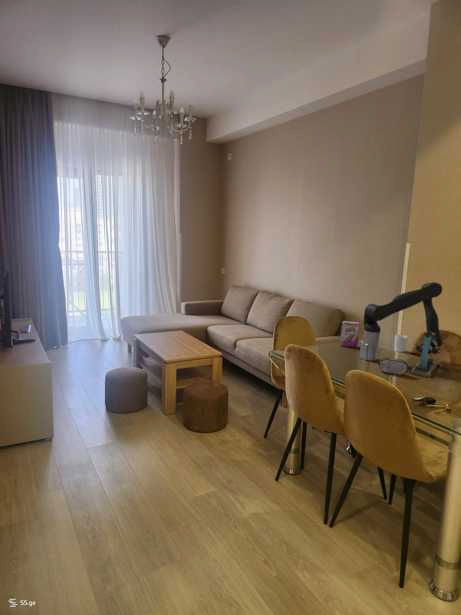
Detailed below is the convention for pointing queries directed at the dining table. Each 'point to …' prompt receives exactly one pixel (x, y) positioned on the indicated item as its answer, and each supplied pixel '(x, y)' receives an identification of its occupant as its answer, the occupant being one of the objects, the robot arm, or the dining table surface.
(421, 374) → the press base
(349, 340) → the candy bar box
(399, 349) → the white cup
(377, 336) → the robot arm
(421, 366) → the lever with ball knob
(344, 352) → the dining table surface
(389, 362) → the tin
